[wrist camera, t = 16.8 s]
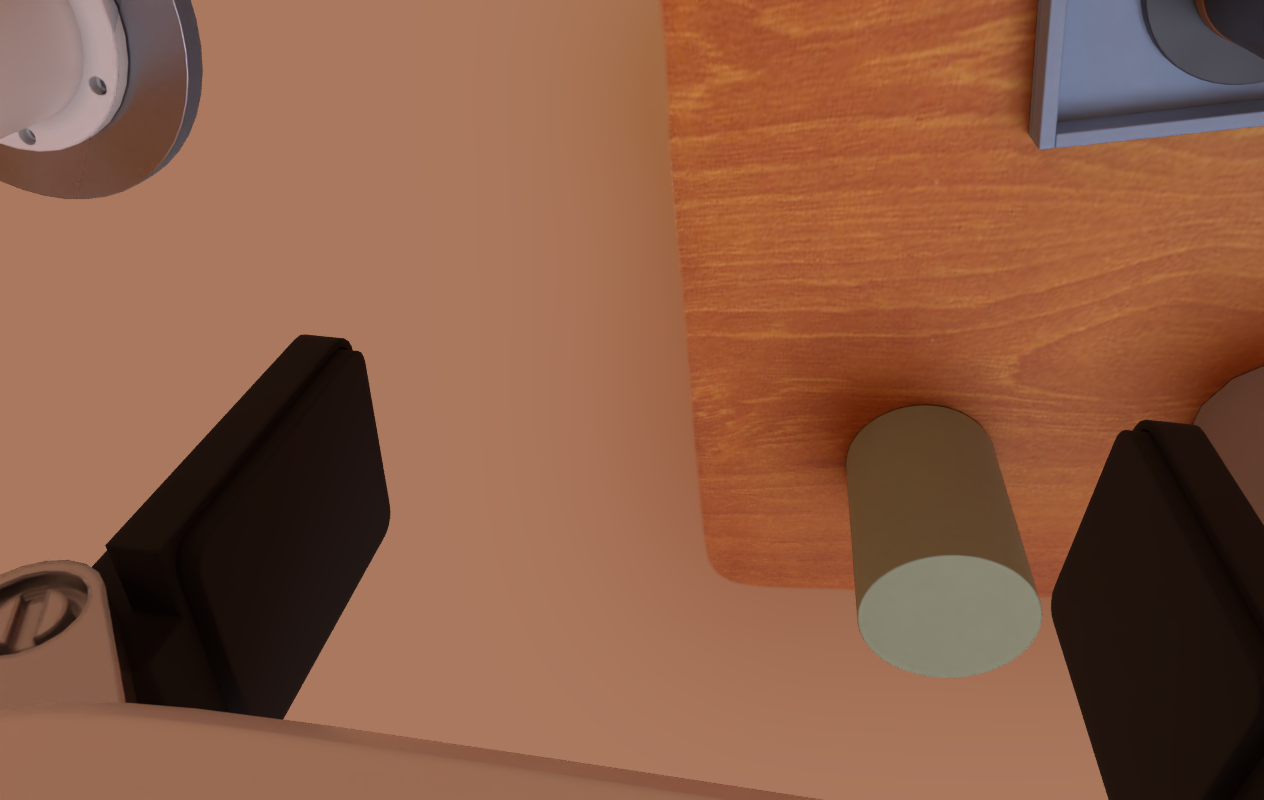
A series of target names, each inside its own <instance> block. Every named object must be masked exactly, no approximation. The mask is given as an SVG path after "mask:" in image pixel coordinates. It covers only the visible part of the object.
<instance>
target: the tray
mask: <svg viewBox="0 0 1264 800" xmlns="http://www.w3.org/2000/svg"><path fill="white" fill-rule="evenodd" d="M1257 126H1264V82H1261V83H1254V84H1245V85H1225V84H1218V83H1211V82H1208V81H1204V80H1200V79H1198V78H1195V77H1193V76H1191V75H1189V74H1187V73H1185V72H1183V71H1182V70H1180V69H1179V68H1177V67H1176V66H1174V65H1173V64H1172V63H1170V62H1169V61H1168V60H1167V59H1166V58H1165V57H1164V56H1163V55H1162V54H1161V53H1160V51H1159V50H1158V49H1157V48H1156V46H1155V45H1154V43H1153V42H1152V40H1151V38H1150V36H1149V34H1148V32H1147V29H1146V26H1145V22H1144V19H1143V14H1142V7H1141V0H1038V12H1037V26H1036V40H1035V53H1034V67H1033V81H1032V94H1031V108H1030V122H1029V136H1030V137H1031V138H1032V140H1033V141H1034V143H1035V144H1036V146H1037V147H1038V149H1039V150H1044V149H1053V148H1054V147H1055V148H1062V147H1071V146H1081V145H1090V144H1099V143H1108V142H1118V141H1127V140H1136V139H1145V138H1155V137H1164V136H1173V135H1183V134H1192V133H1201V132H1210V131H1220V130H1229V129H1238V128H1247V127H1257Z"/></svg>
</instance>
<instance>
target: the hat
mask: <svg viewBox="0 0 1264 800" xmlns="http://www.w3.org/2000/svg"><path fill="white" fill-rule="evenodd" d="M1141 7H1142V14H1143V19H1144V22H1145V26H1146V29H1147V32H1148V34H1149V36H1150V38H1151V40H1152V42H1153V43H1154V45H1155V46H1156V48H1157V49H1158V50H1159V51H1160V53H1161V54H1162V55H1163V56H1164V57H1165V58H1166V59H1167V60H1168V61H1169V62H1170V63H1172V64H1173V65H1174V66H1176V67H1177V68H1179V69H1180V70H1182V71H1183V72H1185V73H1187V74H1189V75H1191V76H1193V77H1195V78H1198V79H1200V80H1204V81H1208V82H1211V83H1218V84H1225V85H1245V84H1254V83H1261V82H1264V0H1141Z"/></svg>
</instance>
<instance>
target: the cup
mask: <svg viewBox="0 0 1264 800" xmlns="http://www.w3.org/2000/svg"><path fill="white" fill-rule="evenodd" d="M1193 425H1196V426H1199V427H1200V428H1201V429H1202V430H1203V431H1204V433H1205V434H1206V436H1207V437H1208V439H1209V440H1210V442H1211V443H1212V445H1213V447H1214V448H1215V450H1216V451H1217V453H1218V454H1219V456H1220V458H1221V459H1222V461H1223V462H1224V464H1225V465H1226V467H1227V468H1228V470H1229V472H1230V473H1231V475H1232V476H1233V478H1234V479H1235V481H1236V482H1237V484H1238V486H1239V487H1240V489H1241V490H1242V492H1243V493H1244V495H1245V497H1246V498H1247V500H1248V501H1249V503H1250V504H1251V506H1252V507H1253V509H1254V511H1255V512H1256V514H1257V515H1258V517H1259V518H1260V520H1261V522H1262V523H1263V525H1264V366H1262V367H1260V368H1257V369H1255V370H1253V371H1250V372H1248V373H1245V374H1243V375H1241V376H1238V377H1236V378H1233V379H1232V380H1231V381H1230V382H1229V383H1227V384H1226V385H1225V386H1224V387H1223V388H1222V389H1221V390H1219V391H1218V392H1217V393H1216V394H1215V395H1214V396H1213V397H1211V398H1210V399H1209V400H1208V401H1207V402H1206V403H1205V404H1203V405H1202V406H1201V408H1200V410H1199V412H1198V415H1197V417H1196V419H1195V421H1194V423H1193Z"/></svg>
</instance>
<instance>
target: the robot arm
mask: <svg viewBox="0 0 1264 800" xmlns="http://www.w3.org/2000/svg"><path fill="white" fill-rule="evenodd" d="M127 72H128V55H127V46H126V37H125V33H124V29H123V26H122V22H121V19H120V15H119V12H118V8H117V6H116V4H115V1H114V0H0V144H4V145H7V146H10V147H13V148H16V149H23V150H30V151H38V152H42V151H55V150H62V149H65V148H68V147H71V146H74V145H77V144H79V143H81V142H83V141H85V140H87V139H89V138H91V137H92V136H94V135H96V134H97V133H99V132H100V131H101V130H102V129H103V128H104V127H105V126H106V125H107V124H108V123H110V121H111V120H112V118H113V117H114V115H115V113H116V112H117V110H118V108H119V107H120V105H121V102H122V98H123V95H124V92H125V89H126V85H127ZM389 520H390V504H389V498H388V492H387V486H386V481H385V475H384V469H383V463H382V457H381V452H380V445H379V440H378V434H377V428H376V422H375V416H374V411H373V405H372V399H371V393H370V387H369V382H368V375H367V370H366V364H365V360H364V357H363V355H362V353H361V352H359V351H353V350H352V347H351V345H350V343H349V341H347V340H346V339H344V338H334V337H323V336H314V335H300V336H299V337H297V338H296V339H295V340H294V341H293V342H292V343H291V344H290V345H289V346H288V347H287V348H286V350H285V351H284V352H283V353H282V354H281V355H280V356H279V357H278V358H277V359H276V361H275V362H274V363H273V364H272V365H271V366H270V367H269V368H268V369H267V370H266V371H265V372H264V373H263V375H262V376H261V377H260V378H259V379H258V380H257V381H256V382H255V383H254V384H253V385H252V387H251V388H250V389H249V390H248V391H247V392H246V393H245V394H244V395H243V396H242V398H241V399H240V400H239V401H238V402H237V403H236V404H235V405H234V406H233V407H232V408H231V410H229V412H228V413H227V414H226V415H225V416H224V417H223V418H222V419H221V420H220V421H219V422H218V424H217V425H216V426H215V427H214V428H213V429H212V430H211V431H210V432H209V433H208V434H207V435H206V437H205V438H204V439H203V440H202V441H201V442H200V443H199V444H198V445H197V446H196V447H195V449H194V450H193V451H192V452H191V453H190V454H189V455H188V456H187V457H186V458H185V459H184V460H183V462H182V463H181V464H180V465H179V466H178V467H177V468H176V469H175V470H174V471H173V472H172V474H171V475H170V476H169V477H168V478H167V479H166V480H165V481H164V482H163V483H162V485H161V486H160V487H159V488H158V489H157V490H156V491H155V492H154V493H153V494H152V495H151V496H150V497H149V499H148V500H147V501H146V502H145V503H144V504H143V505H142V506H141V507H140V508H139V509H138V510H137V512H136V513H135V514H134V515H133V516H132V517H131V518H130V519H129V520H128V521H127V522H126V524H125V525H124V526H123V527H122V528H121V529H120V530H119V532H117V533H116V534H115V536H114V537H113V538H112V539H111V540H110V541H109V542H108V543H107V544H106V545H105V546H106V548H107V551H106V552H105V553H104V555H103V556H102V557H101V558H100V559H99V560H98V561H97V562H96V563H95V564H94V565H93V566H92V568H91V567H90V566H88V565H87V564H84V563H79V562H75V561H69V560H58V561H43V562H39V563H35V564H30V565H26V566H21V567H19V568H16V569H14V570H11V571H9V572H7V573H4V574H1V575H0V800H821V799H814V798H808V797H802V796H794V795H788V794H782V793H776V792H769V791H762V790H756V789H749V788H743V787H736V786H729V785H723V784H716V783H710V782H703V781H697V780H690V779H684V778H678V777H670V776H664V775H658V774H651V773H644V772H638V771H631V770H624V769H618V768H612V767H605V766H598V765H592V764H585V763H578V762H572V761H565V760H558V759H552V758H545V757H539V756H532V755H525V754H518V753H511V752H505V751H498V750H491V749H484V748H477V747H471V746H464V745H456V744H450V743H443V742H436V741H429V740H423V739H416V738H409V737H402V736H395V735H389V734H382V733H375V732H368V731H362V730H354V729H348V728H341V727H334V726H327V725H320V724H312V723H304V722H296V721H289V720H283V719H284V717H285V715H286V713H287V711H288V710H289V708H290V706H291V704H292V702H293V700H294V699H295V697H296V695H297V693H298V692H299V690H300V688H301V686H302V684H303V683H304V681H305V679H306V677H307V675H308V674H309V672H310V670H311V668H312V666H313V665H314V663H315V661H316V659H317V657H318V656H319V654H320V652H321V650H322V648H323V646H324V645H325V643H326V641H327V639H328V638H329V636H330V634H331V632H332V630H333V629H334V627H335V625H336V623H337V621H338V619H339V617H340V616H341V614H342V612H343V610H344V609H345V607H346V605H347V603H348V602H349V600H350V598H351V596H352V594H353V592H354V591H355V589H356V587H357V585H358V583H359V582H360V580H361V578H362V576H363V574H364V572H365V571H366V569H367V567H368V565H369V564H370V562H371V560H372V558H373V556H374V554H375V553H376V551H377V549H378V547H379V545H380V544H381V542H382V540H383V538H384V537H385V534H386V532H387V529H388V526H389ZM1051 601H1052V602H1051V612H1052V618H1053V622H1054V626H1055V628H1056V632H1057V635H1058V638H1059V642H1060V645H1061V648H1062V651H1063V654H1064V658H1065V661H1066V664H1067V667H1068V670H1069V674H1070V677H1071V680H1072V683H1073V686H1074V690H1075V693H1076V696H1077V699H1078V703H1079V706H1080V709H1081V712H1082V715H1083V719H1084V722H1085V725H1086V728H1087V732H1088V735H1089V738H1090V741H1091V744H1092V747H1093V751H1094V754H1095V757H1096V760H1097V764H1098V767H1099V770H1100V773H1101V776H1102V780H1103V783H1104V786H1105V789H1106V793H1107V796H1108V799H1109V800H1264V525H1263V523H1262V522H1261V520H1260V518H1259V517H1258V515H1257V514H1256V512H1255V511H1254V509H1253V507H1252V506H1251V504H1250V503H1249V501H1248V500H1247V498H1246V497H1245V495H1244V493H1243V492H1242V490H1241V489H1240V487H1239V486H1238V484H1237V482H1236V481H1235V479H1234V478H1233V476H1232V475H1231V473H1230V472H1229V470H1228V468H1227V467H1226V465H1225V464H1224V462H1223V461H1222V459H1221V458H1220V456H1219V454H1218V453H1217V451H1216V450H1215V448H1214V447H1213V445H1212V443H1211V442H1210V440H1209V439H1208V437H1207V436H1206V434H1205V433H1204V431H1203V430H1202V429H1201V428H1200V427H1199V426H1196V425H1192V424H1182V423H1172V422H1162V421H1152V420H1143V421H1140V422H1139V423H1138V424H1137V425H1136V426H1135V428H1134V429H1133V431H1130V430H1124V431H1121V432H1120V433H1119V434H1118V436H1117V438H1116V440H1115V442H1114V444H1113V447H1112V449H1111V451H1110V454H1109V456H1108V459H1107V461H1106V463H1105V466H1104V468H1103V471H1102V473H1101V476H1100V478H1099V480H1098V483H1097V485H1096V488H1095V490H1094V493H1093V495H1092V497H1091V500H1090V502H1089V505H1088V507H1087V510H1086V512H1085V514H1084V517H1083V519H1082V522H1081V524H1080V526H1079V529H1078V531H1077V534H1076V536H1075V539H1074V541H1073V543H1072V546H1071V548H1070V551H1069V553H1068V556H1067V558H1066V560H1065V563H1064V565H1063V568H1062V570H1061V572H1060V575H1059V577H1058V580H1057V582H1056V585H1055V587H1054V590H1053V594H1052V600H1051Z"/></svg>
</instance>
